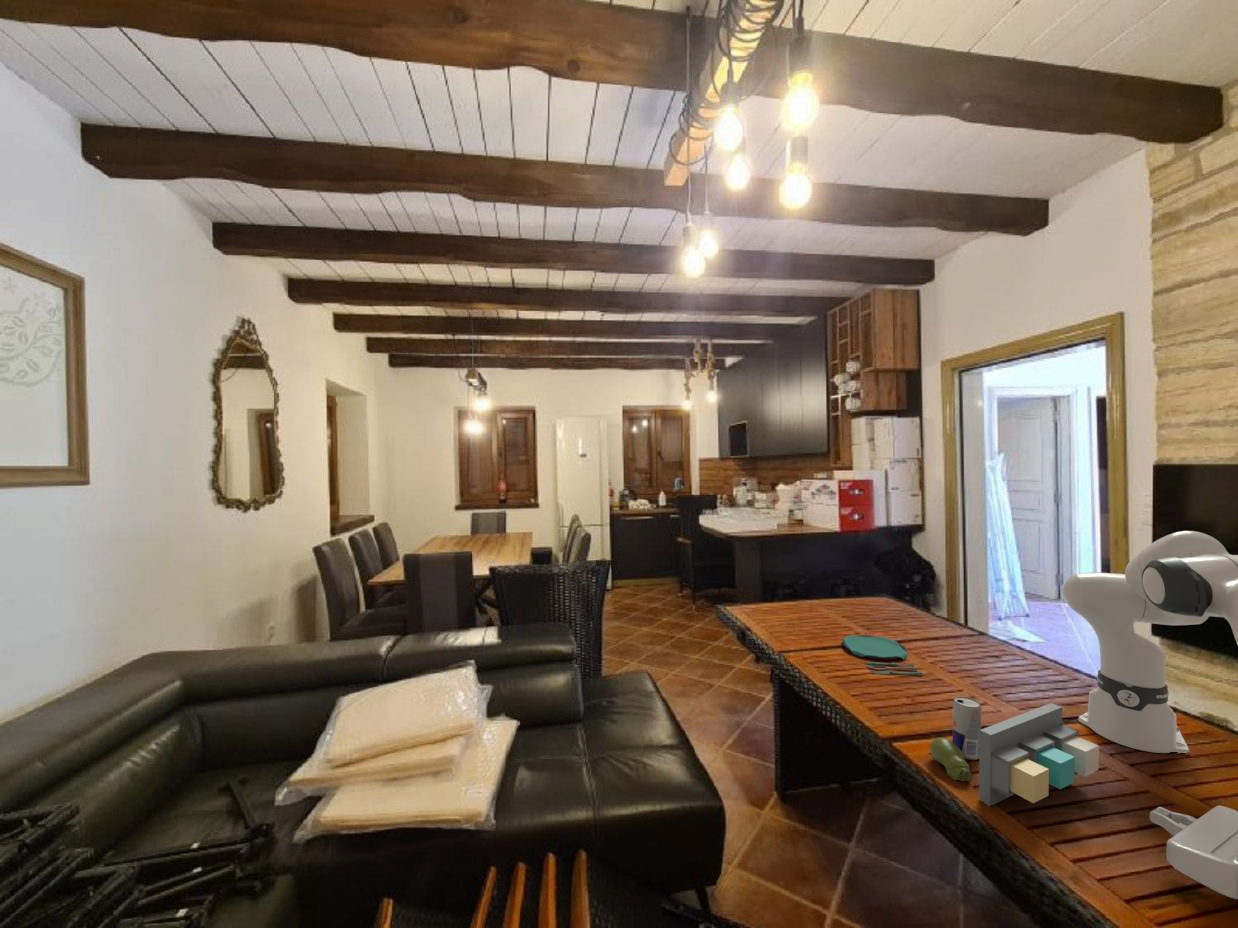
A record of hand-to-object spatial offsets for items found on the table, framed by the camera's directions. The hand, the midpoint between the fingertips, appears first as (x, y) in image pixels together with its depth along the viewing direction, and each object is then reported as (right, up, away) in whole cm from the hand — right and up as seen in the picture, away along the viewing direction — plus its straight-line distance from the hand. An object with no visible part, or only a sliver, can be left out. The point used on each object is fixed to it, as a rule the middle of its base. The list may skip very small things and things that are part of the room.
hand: (1153, 812), depth 88 cm
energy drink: (-12, -7, +29) cm, 32 cm away
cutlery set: (-4, -6, +85) cm, 85 cm away
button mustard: (-14, -2, +9) cm, 17 cm away
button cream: (+2, -2, +17) cm, 17 cm away
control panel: (-8, -7, +17) cm, 20 cm away
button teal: (-6, -2, +13) cm, 15 cm away
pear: (-19, -7, +23) cm, 31 cm away
